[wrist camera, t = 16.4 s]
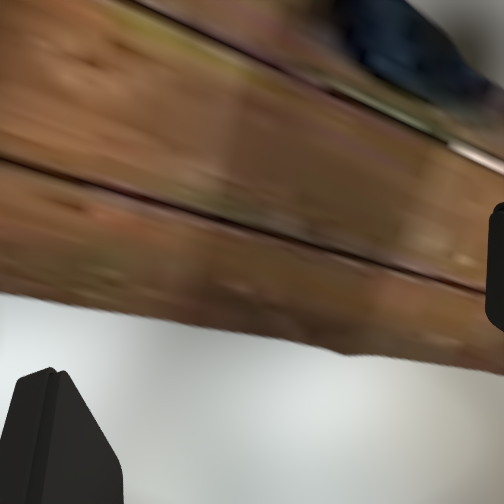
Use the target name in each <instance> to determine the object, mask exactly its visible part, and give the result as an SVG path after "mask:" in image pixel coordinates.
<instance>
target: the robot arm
mask: <svg viewBox="0 0 504 504" xmlns="http://www.w3.org/2000/svg"><path fill="white" fill-rule="evenodd" d="M485 312H486V315H487V317H488V319H489V320H490V322H491V323H492V324H493V325H494V326H496V327H497V328H499V329H500V330H501V331H503V332H504V202H502V203H499V204H498V205H497V206H496V207H495V208H494V210H493V213H492V214H491V216H490V218H489V233H488V256H487V278H486V300H485ZM123 499H124V498H123V474H122V469H121V465H120V463H119V460H118V458H117V456H116V455H115V453H114V451H113V449H112V448H111V446H110V444H109V443H108V441H107V439H106V437H105V436H104V434H103V432H102V430H101V429H100V427H99V426H98V424H97V422H96V420H95V419H94V417H93V415H92V413H91V412H90V410H89V408H88V407H87V405H86V403H85V401H84V400H83V398H82V396H81V395H80V393H79V391H78V389H77V388H76V386H75V385H74V383H73V381H72V379H71V378H70V376H69V375H68V373H67V372H66V371H60V372H56V370H55V369H53V368H52V367H49V368H46V369H43V370H40V371H37V372H35V373H32V374H29V375H27V376H24V377H21V378H19V379H18V380H17V383H16V385H15V389H14V392H13V396H12V399H11V403H10V406H9V410H8V413H7V417H6V421H5V424H4V428H3V431H2V435H1V438H0V504H124V500H123Z"/></svg>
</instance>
